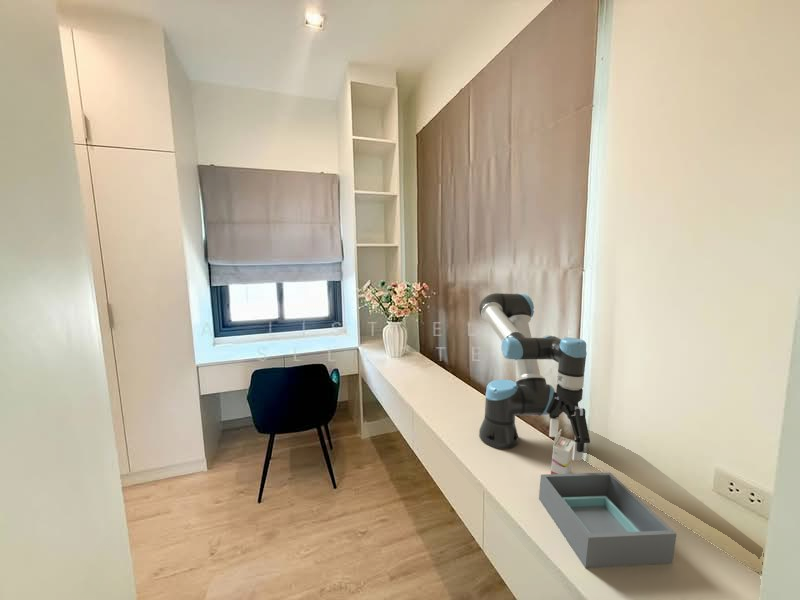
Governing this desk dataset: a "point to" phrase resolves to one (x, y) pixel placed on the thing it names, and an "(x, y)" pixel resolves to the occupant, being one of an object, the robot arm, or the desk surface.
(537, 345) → the robot arm
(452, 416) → the desk surface
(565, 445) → the ink cartridge box
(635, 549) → the grey square tray
